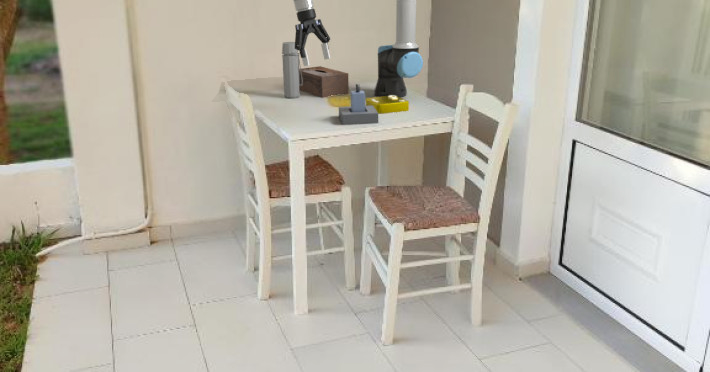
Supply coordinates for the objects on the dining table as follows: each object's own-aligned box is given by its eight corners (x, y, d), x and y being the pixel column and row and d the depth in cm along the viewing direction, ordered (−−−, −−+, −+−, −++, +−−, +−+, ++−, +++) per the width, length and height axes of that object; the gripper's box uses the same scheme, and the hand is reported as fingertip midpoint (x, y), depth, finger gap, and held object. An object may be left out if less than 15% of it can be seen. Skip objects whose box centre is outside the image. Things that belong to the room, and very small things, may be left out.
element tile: (364, 107, 287) (364, 97, 285) (395, 104, 292) (395, 93, 290) (378, 115, 274) (378, 103, 272) (410, 111, 279) (410, 100, 277)
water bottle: (287, 99, 303) (285, 44, 295) (281, 96, 310) (278, 42, 302) (306, 97, 307) (304, 42, 299) (299, 94, 314) (297, 40, 306)
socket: (372, 114, 272) (372, 105, 271) (378, 123, 259) (378, 113, 258) (338, 116, 271) (338, 106, 269) (343, 124, 258) (342, 114, 256)
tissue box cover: (295, 89, 326) (294, 69, 323) (320, 86, 334) (320, 66, 330) (322, 98, 306) (321, 76, 303) (348, 94, 314) (348, 73, 310)
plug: (363, 115, 267) (362, 83, 263) (365, 117, 263) (364, 85, 258) (351, 115, 267) (350, 83, 262) (352, 118, 262) (352, 86, 258)
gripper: (317, 7, 276) (328, 57, 282) (277, 15, 258) (290, 69, 263) (331, 3, 272) (342, 55, 277) (291, 12, 253) (304, 67, 259)
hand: (317, 62), depth 270 cm, fingers open, 13 cm apart
